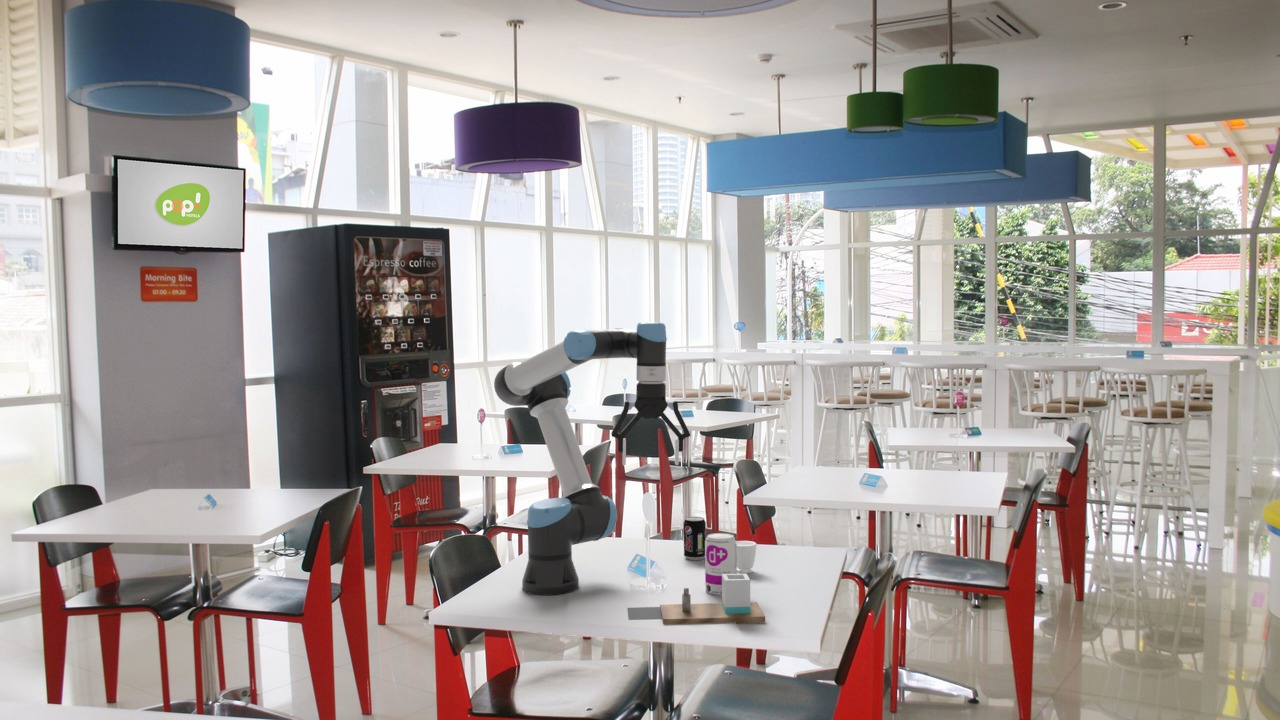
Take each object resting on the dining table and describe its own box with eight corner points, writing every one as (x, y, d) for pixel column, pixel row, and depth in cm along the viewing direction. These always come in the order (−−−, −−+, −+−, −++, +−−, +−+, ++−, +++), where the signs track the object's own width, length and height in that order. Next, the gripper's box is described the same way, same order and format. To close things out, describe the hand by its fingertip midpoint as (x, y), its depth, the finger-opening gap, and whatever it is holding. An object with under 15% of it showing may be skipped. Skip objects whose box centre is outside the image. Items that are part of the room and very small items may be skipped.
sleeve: (725, 613, 233) (725, 580, 233) (722, 606, 239) (721, 574, 239) (750, 613, 233) (750, 579, 233) (746, 606, 239) (746, 573, 239)
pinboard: (663, 625, 230) (662, 595, 229) (660, 610, 242) (659, 582, 241) (765, 622, 231) (765, 593, 230) (757, 608, 243) (756, 580, 242)
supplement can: (728, 598, 252) (727, 540, 251) (699, 594, 256) (699, 537, 256) (742, 591, 259) (741, 534, 258) (714, 587, 263) (713, 531, 262)
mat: (628, 621, 233) (628, 619, 233) (627, 609, 243) (627, 607, 243) (670, 620, 234) (670, 618, 234) (667, 608, 244) (667, 606, 244)
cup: (755, 575, 275) (755, 546, 275) (720, 573, 277) (719, 545, 277) (758, 568, 282) (758, 541, 282) (723, 567, 284) (723, 539, 284)
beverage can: (706, 560, 293) (706, 520, 292) (684, 560, 293) (683, 520, 292) (705, 555, 299) (705, 516, 299) (683, 555, 300) (683, 516, 299)
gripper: (602, 383, 248) (602, 466, 249) (701, 383, 249) (700, 466, 251) (602, 381, 256) (602, 461, 257) (697, 381, 257) (697, 461, 258)
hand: (650, 464), depth 254 cm, fingers open, 13 cm apart
